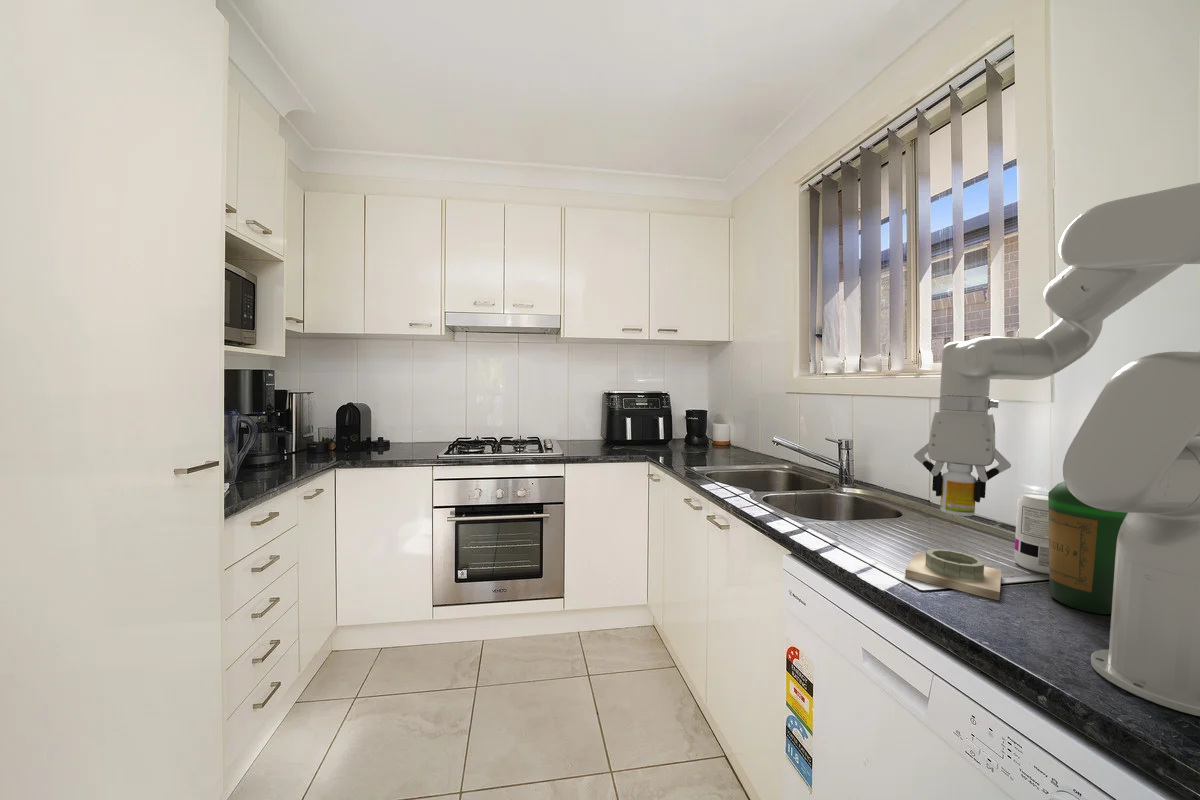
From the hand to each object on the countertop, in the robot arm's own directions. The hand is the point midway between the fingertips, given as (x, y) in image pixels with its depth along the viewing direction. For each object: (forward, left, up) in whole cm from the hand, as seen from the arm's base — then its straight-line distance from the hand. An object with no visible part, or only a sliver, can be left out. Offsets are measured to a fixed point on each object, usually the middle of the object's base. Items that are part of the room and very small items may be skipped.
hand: (957, 497), depth 92 cm
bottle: (-18, -2, -16) cm, 24 cm away
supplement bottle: (0, 0, -3) cm, 3 cm away
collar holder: (0, 0, -16) cm, 16 cm away
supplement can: (-13, -20, -16) cm, 29 cm away
